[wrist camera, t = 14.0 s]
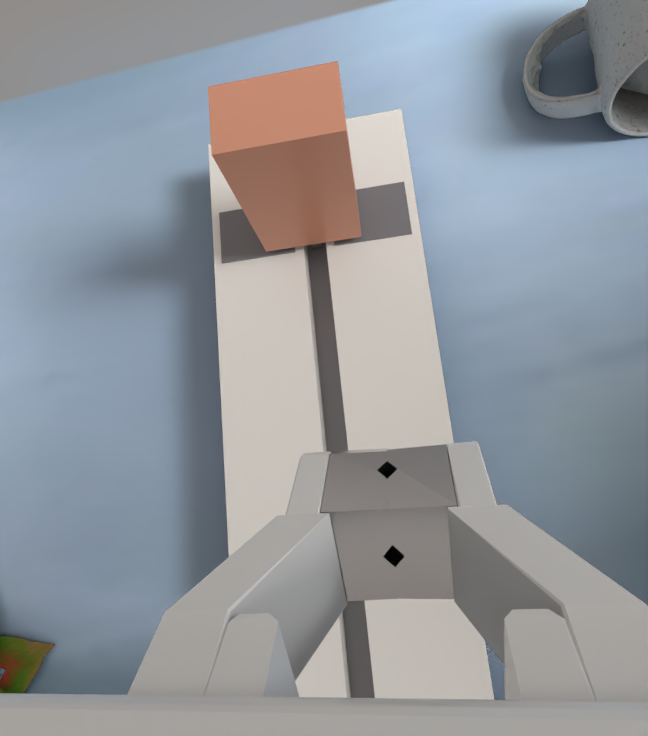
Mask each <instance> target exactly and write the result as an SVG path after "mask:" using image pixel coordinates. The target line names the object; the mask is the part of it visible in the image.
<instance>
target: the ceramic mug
mask: <svg viewBox="0 0 648 736" xmlns="http://www.w3.org/2000/svg"><path fill="white" fill-rule="evenodd" d="M585 30H588V32H589V39H590V46H591V50H592V52H593V57H594V64H595V75H596V80H597V86H598V89H596V90H595V91H593V92H591V93H586V94H578V95H573V96H564V97H554V96H549V95H545V94H544V93H542V92H539V75H540V73H541V71H542V64H541V62H542V60H543V59H544V58H545V57H546V56H547V54H548V53H549V52H550V51H551V50H553V49H554V48H555V47H557V46H558V45H560V44H561V43H562V42H563V41H565V40H567V39H569V38H571V37H572V36H574V35H576V34H578V33H580V32H582V31H585ZM522 76H523V85H524V89H525V92H526V95H527V98H528V101H529V103H530V105H531V106H532V107H533V108H534V110H535V111H537V112H538V113H540V114H542V115H545V116H547V117H551V118H556V119H567V118H574V117H580V116H586V115H590V114H593V113H597V112H602V113H603V116H604V118H605V121H606V123H607V124H608V125H609V126H610V127H611V128H612V129H613V130H615V131H617V132H619V133H622V134H624V135H629V136H648V0H588V2H587V4H586V5H585V7H582V8H580V9H577V10H575V11H573V12H571V13H569V14H567V15H565V16H564V17H562V18H560V19H558V20H557V21H555V22H554V23H553V24H552V25H550V26H549V27H548V28H547V29H545V30H544V31H543V32H542V33H541V34H540V35H539V36H538V37H537V39H536V40H535V41H534V43H533V44H532V46H531V48H530V49H529V51H528V53H527V55H526V58H525V62H524V65H523V75H522Z"/></svg>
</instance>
